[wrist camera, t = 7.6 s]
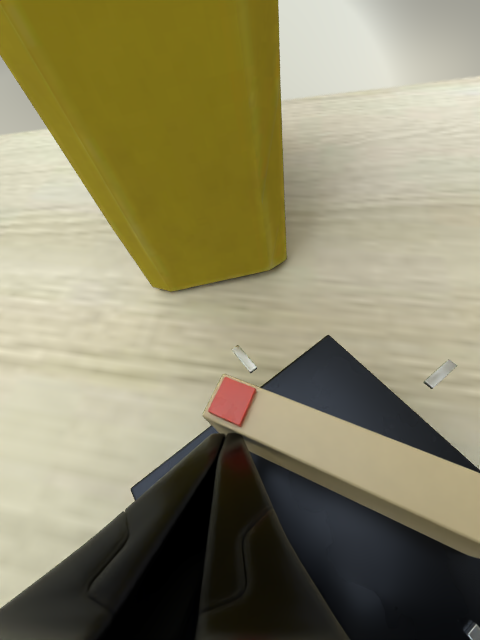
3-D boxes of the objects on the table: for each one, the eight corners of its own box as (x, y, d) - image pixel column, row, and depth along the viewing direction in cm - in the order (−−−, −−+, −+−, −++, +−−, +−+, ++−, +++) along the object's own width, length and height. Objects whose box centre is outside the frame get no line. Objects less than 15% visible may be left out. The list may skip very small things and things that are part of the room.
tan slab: (474, 504, 9) (565, 502, 6) (470, 556, 9) (568, 583, 5) (240, 406, 12) (220, 369, 9) (225, 440, 11) (198, 413, 8)
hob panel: (670, 624, 10) (901, 695, 6) (426, 1007, 8) (561, 1527, 4) (326, 323, 18) (334, 274, 15) (153, 457, 16) (106, 440, 12)
